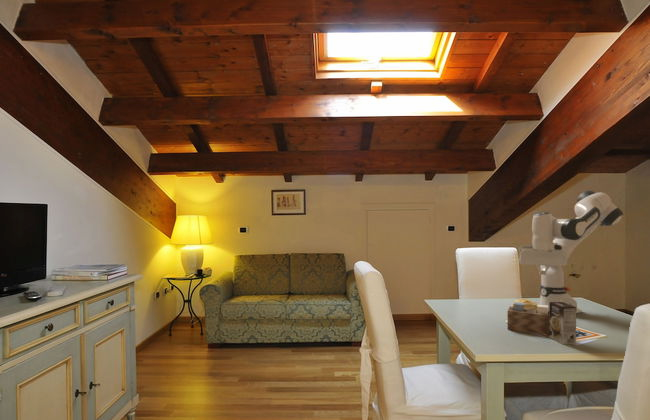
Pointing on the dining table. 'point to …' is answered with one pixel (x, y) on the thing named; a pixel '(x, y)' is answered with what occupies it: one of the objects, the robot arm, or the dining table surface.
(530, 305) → the sculpture
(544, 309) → the white key
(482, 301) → the dining table surface
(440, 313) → the dining table surface
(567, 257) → the robot arm
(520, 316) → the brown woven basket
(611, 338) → the dining table surface
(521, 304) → the blue key
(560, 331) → the coffee box
